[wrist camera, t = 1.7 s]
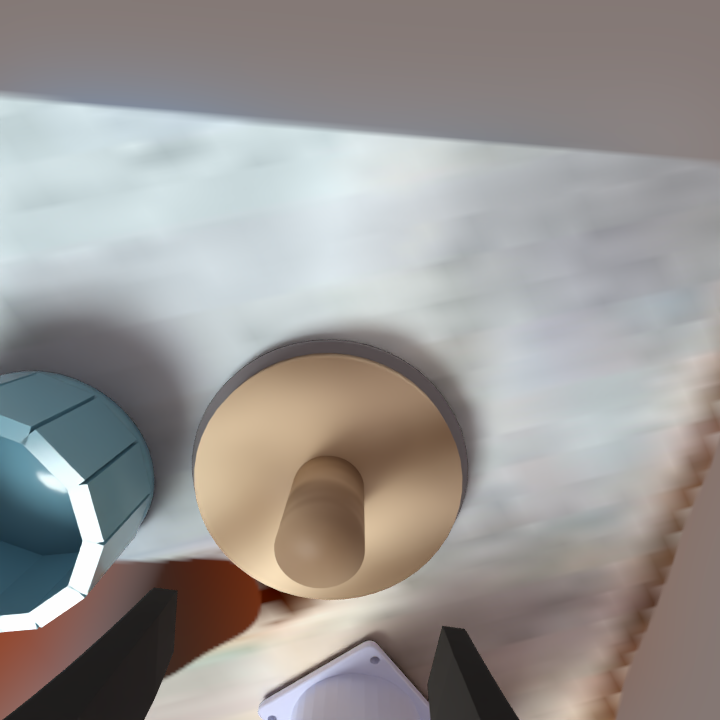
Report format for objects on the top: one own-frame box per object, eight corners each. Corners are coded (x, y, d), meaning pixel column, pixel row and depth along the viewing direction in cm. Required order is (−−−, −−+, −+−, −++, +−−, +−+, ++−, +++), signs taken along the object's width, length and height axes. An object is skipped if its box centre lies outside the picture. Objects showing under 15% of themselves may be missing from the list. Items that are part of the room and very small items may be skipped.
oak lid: (505, 502, 19) (553, 582, 14) (307, 622, 21) (290, 730, 16) (358, 298, 17) (357, 312, 12) (149, 450, 19) (75, 516, 14)
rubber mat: (515, 498, 20) (519, 504, 19) (306, 624, 22) (305, 633, 21) (361, 280, 17) (361, 281, 17) (139, 443, 19) (134, 448, 19)
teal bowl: (197, 489, 20) (153, 550, 16) (55, 588, 21) (-22, 670, 17) (50, 327, 18) (-46, 346, 14) (-96, 447, 19) (-225, 499, 15)
